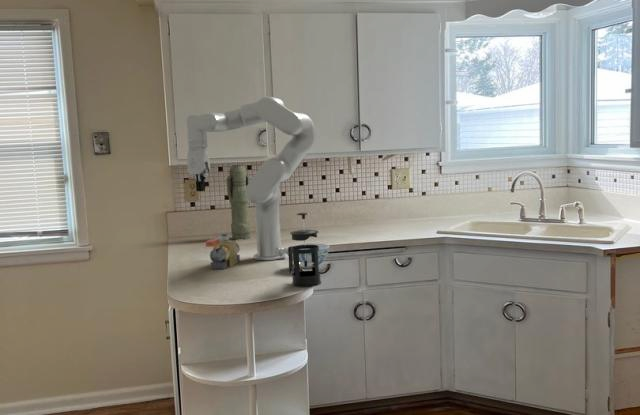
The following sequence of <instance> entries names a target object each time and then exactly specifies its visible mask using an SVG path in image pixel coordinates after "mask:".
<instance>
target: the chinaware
mask: <svg viewBox="0 0 640 415" xmlns="http://www.w3.org/2000/svg"><path fill="white" fill-rule="evenodd" d="M298 245H304V243H299V244H293V245H289V246H288V247H290V246H298ZM305 245H317V246H319V251H318V263H319V264H318V268H320V267H319V266H320V265H321V264H322V263H323V262H325V260H326V259H327V257H328V255H329V252H330V245H329V244H327V243H319V242H317V243H315V242H313V243H305ZM301 250H302V249H301ZM292 255H293V253H292ZM306 260H307V262H312V256H311V253H307V254H306ZM304 261H305V254H299V262H304ZM302 271H312V268H306V269H302Z"/></svg>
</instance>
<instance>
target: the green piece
mask: <svg viewBox="0 0 640 415" xmlns="http://www.w3.org/2000/svg"><path fill="white" fill-rule="evenodd" d="M229 168H230V169H229V171H228V172H229V173H228V174H229V175H228V176H227V178H226V190H227V197H228V198H229V203H230V210H231V225H230V229H231V231H230V232H231V236H232V238H233V239H232V238H231V239H232V240H234V239H243V240H247V239H246V238H249V239H251V224H250V221H249V205H248V204H249V201H248V199H247V197H246V187H247V185H248V183H249V182H250V177H249V175H248V174H246V168H245V166H244V165H243V164H236V165H235V164H234V165H231V166H230V167H229Z"/></svg>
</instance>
